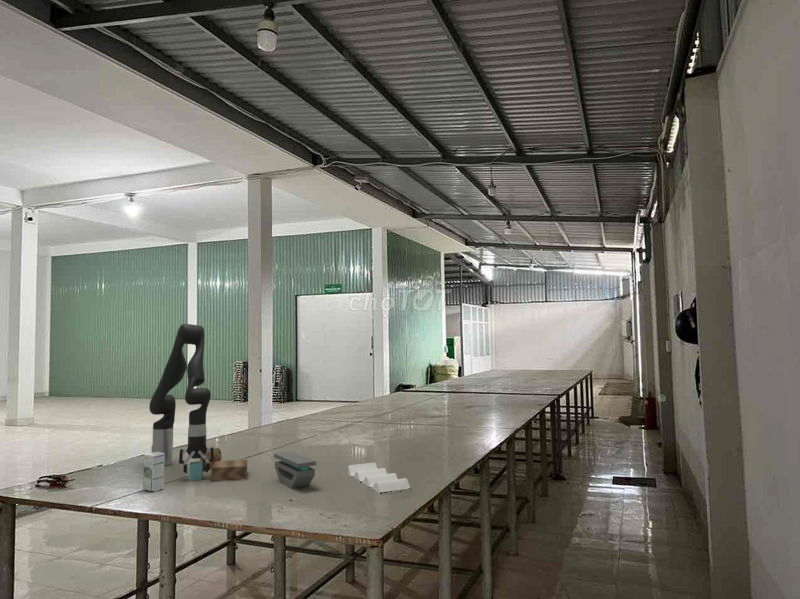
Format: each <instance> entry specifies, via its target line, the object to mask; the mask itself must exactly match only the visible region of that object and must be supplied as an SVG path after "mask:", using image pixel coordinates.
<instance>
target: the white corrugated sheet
mask: <svg viewBox="0 0 800 599" xmlns="http://www.w3.org/2000/svg"><path fill="white" fill-rule="evenodd" d="M347 475H350V476H354V478H356V479H358V480H359V481H363V482H362V483H364V484H366V485H367V486H369V487H372V489H374V490H376V491H377V492H379V493H380V494H382V493H387V492H392V491H397V490H402V489H408V488H410V489H411V486H410V483H409V481H408V479H407V478H406V477H405V478H398V476H397V474H396V473H395V472H393V473H388V472H387V470H386V468H385V467H383V468H381V467H380V468H378V466H377V463H376V462H366V463H365V462H364V463H358V464H357V463H356V464H348V465H347ZM367 486H366V487H367ZM372 489H371V490H372ZM377 492H376V493H377ZM379 493H378V494H379ZM380 494H379V495H380Z"/></svg>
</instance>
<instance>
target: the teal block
mask: <svg viewBox="0 0 800 599" xmlns="http://www.w3.org/2000/svg"><path fill="white" fill-rule="evenodd" d="M203 470H204V469H203V461H201V460H199V461H190V463H189V474H188V476H189V479H188V480H189V482H193V480H195V481H202V480H203V473H204V472H203Z"/></svg>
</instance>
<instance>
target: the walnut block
mask: <svg viewBox="0 0 800 599" xmlns="http://www.w3.org/2000/svg"><path fill="white" fill-rule="evenodd" d="M210 471H211V474H210V476H211V477H210V479H211V480H210V482H211V481H213V482H224V481H223V480H231V481H242V480H241V479H245V480H246V478H247V475H246V474H248V459H235V460H233V459H232V460H221V461H215V462H214V464H213V466H212V468H211V469H210Z"/></svg>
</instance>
